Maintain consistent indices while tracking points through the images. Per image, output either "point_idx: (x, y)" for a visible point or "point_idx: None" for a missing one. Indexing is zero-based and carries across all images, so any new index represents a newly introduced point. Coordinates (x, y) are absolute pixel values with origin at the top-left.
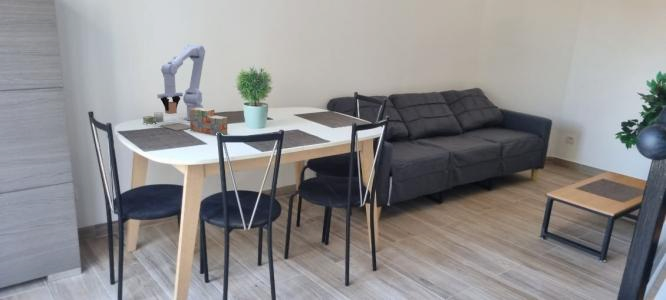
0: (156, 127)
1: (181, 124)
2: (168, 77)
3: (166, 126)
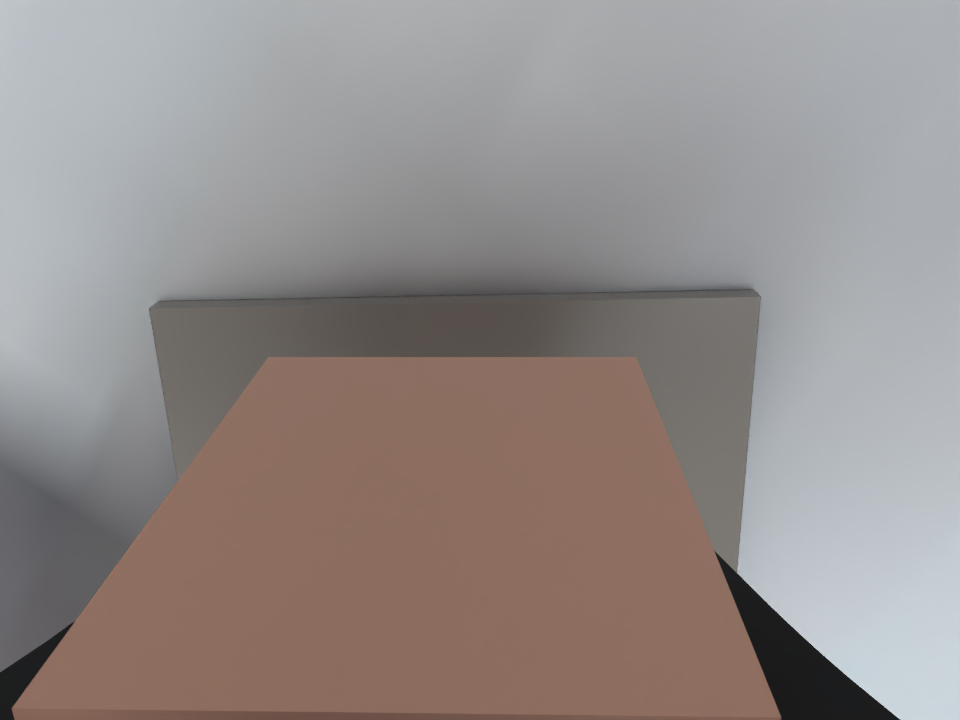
0: (28, 348)
1: None
2: None
3: None
